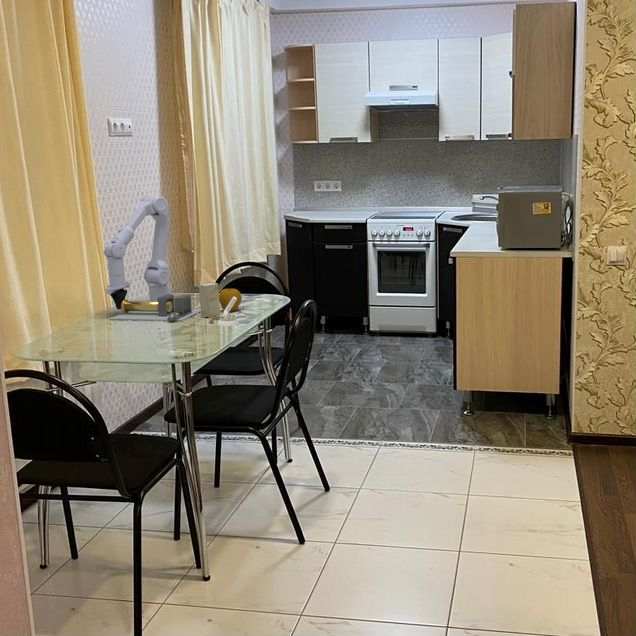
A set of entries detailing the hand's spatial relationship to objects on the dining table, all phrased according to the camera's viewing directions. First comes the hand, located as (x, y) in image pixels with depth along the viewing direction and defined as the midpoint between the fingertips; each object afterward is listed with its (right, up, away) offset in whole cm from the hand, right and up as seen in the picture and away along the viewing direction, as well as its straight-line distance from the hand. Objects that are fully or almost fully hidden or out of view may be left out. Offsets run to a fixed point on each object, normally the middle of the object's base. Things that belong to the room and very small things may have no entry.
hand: (120, 309), depth 318 cm
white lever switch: (+44, -6, -24) cm, 51 cm away
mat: (+15, -3, -4) cm, 16 cm away
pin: (+11, -2, -3) cm, 12 cm away
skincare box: (+36, -3, -9) cm, 38 cm away
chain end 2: (+25, -3, -11) cm, 27 cm away
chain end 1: (+20, -1, -2) cm, 20 cm away
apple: (+43, -1, -1) cm, 43 cm away
